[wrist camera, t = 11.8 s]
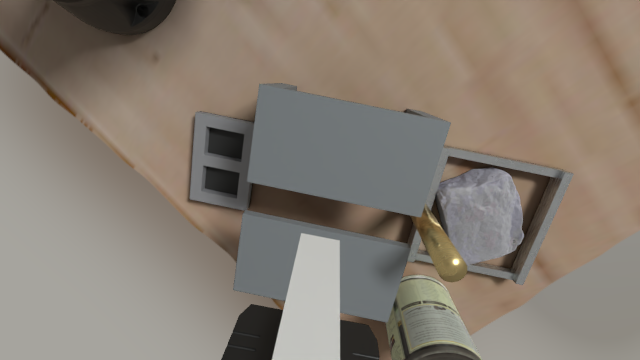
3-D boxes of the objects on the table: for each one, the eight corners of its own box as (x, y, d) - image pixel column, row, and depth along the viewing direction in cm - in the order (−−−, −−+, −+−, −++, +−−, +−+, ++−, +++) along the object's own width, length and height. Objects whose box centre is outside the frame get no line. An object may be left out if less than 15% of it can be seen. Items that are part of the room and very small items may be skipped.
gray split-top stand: (281, 83, 40) (259, 83, 29) (422, 111, 40) (450, 122, 29) (258, 243, 47) (233, 290, 36) (377, 268, 47) (387, 322, 36)
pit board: (200, 111, 42) (195, 112, 40) (260, 123, 42) (257, 124, 40) (194, 195, 45) (189, 199, 44) (249, 206, 45) (246, 210, 44)
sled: (420, 140, 40) (470, 178, 25) (562, 169, 40) (704, 226, 24) (388, 250, 45) (412, 340, 29) (515, 276, 45) (607, 381, 29)
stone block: (492, 157, 42) (423, 185, 42) (519, 164, 38) (442, 195, 37) (509, 233, 46) (445, 259, 45) (535, 248, 41) (464, 277, 41)
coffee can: (459, 321, 48) (503, 414, 35) (393, 337, 50) (411, 431, 37) (441, 265, 46) (481, 341, 32) (372, 284, 48) (383, 364, 34)
